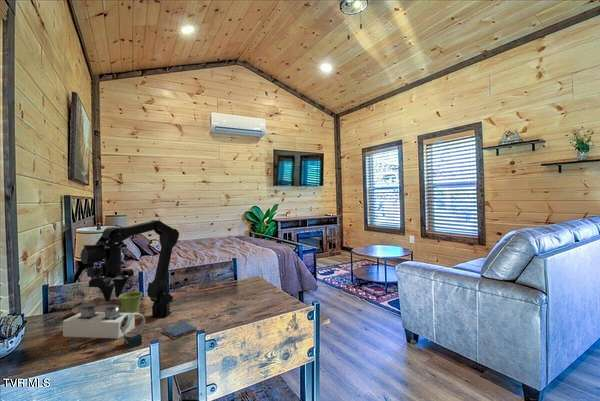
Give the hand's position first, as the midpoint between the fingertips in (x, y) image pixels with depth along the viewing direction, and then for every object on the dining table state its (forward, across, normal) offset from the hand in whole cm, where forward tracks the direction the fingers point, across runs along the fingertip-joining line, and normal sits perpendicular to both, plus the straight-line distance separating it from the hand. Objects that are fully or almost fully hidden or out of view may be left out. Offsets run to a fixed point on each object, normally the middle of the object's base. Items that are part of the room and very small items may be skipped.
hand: (112, 299), depth 121 cm
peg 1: (+9, 0, -10) cm, 13 cm away
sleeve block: (+13, 0, -5) cm, 14 cm away
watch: (+13, +9, +14) cm, 21 cm away
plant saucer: (+14, -21, -21) cm, 33 cm away
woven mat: (+14, -3, +26) cm, 30 cm away
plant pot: (+13, -20, -5) cm, 24 cm away
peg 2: (+9, 0, 0) cm, 9 cm away
